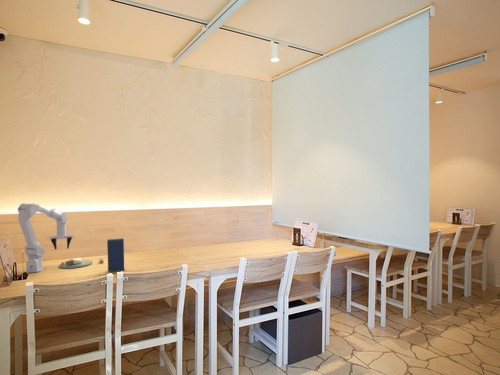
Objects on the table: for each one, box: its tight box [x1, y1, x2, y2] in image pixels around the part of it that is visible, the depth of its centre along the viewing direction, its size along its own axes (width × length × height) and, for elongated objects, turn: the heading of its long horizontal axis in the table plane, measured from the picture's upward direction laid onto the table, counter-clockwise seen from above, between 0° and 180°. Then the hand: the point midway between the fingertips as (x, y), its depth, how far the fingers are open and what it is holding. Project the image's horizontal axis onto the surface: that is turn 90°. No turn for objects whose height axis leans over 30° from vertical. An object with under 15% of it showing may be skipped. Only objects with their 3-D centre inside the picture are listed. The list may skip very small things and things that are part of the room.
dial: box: [65, 257, 83, 265], centre depth 218 cm, size 11×7×3 cm, turn 162°
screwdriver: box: [99, 257, 104, 264], centre depth 229 cm, size 12×2×2 cm, turn 27°
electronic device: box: [106, 237, 125, 273], centre depth 204 cm, size 10×5×20 cm, turn 109°
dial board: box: [58, 259, 93, 270], centre depth 220 cm, size 20×20×2 cm
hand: (61, 248), depth 226 cm, fingers open, 7 cm apart
